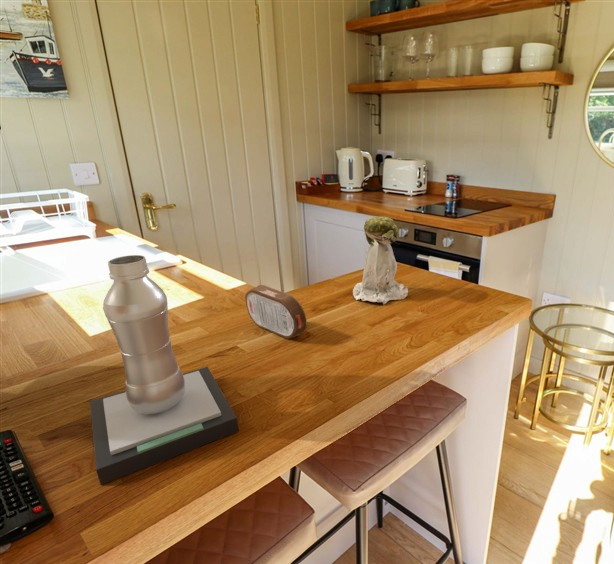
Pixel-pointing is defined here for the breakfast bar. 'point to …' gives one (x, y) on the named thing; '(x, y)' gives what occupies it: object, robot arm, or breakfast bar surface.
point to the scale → (158, 427)
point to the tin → (275, 311)
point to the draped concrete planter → (380, 263)
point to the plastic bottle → (143, 336)
